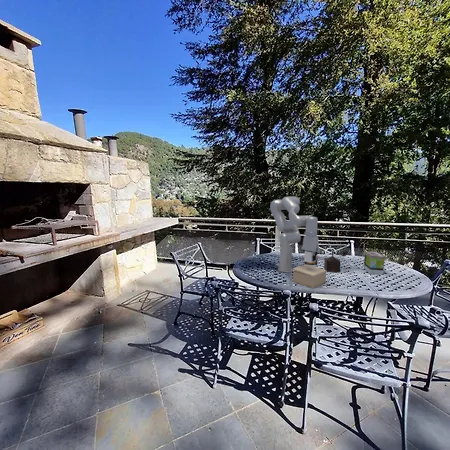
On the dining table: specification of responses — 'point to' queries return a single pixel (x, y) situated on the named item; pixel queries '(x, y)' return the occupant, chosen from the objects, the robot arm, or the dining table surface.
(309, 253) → the weight block
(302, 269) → the box lid
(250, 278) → the dining table surface
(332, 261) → the manual coffee grinder
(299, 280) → the cardboard box
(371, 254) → the tea box
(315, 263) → the ammunition clip
